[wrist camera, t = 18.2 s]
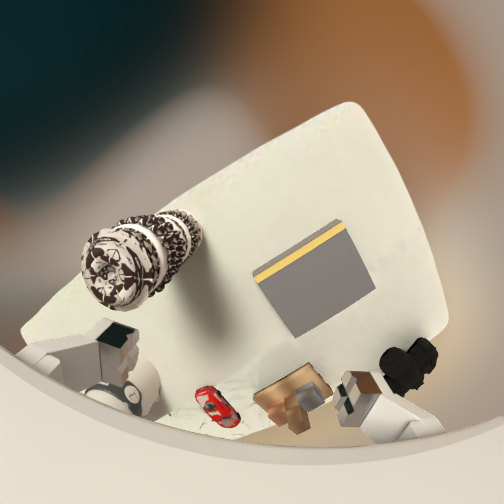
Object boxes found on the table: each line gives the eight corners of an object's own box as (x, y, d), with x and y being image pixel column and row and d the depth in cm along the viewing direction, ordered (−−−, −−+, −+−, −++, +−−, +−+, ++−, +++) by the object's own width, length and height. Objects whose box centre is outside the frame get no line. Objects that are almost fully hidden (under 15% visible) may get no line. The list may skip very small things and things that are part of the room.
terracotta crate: (278, 414, 52) (279, 426, 48) (267, 404, 51) (268, 417, 47) (293, 406, 51) (295, 418, 47) (283, 396, 51) (284, 409, 47)
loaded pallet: (279, 415, 55) (283, 452, 44) (253, 392, 53) (253, 430, 42) (331, 387, 53) (343, 422, 42) (308, 361, 51) (319, 397, 40)
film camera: (408, 322, 50) (428, 341, 41) (428, 340, 51) (448, 359, 42) (361, 373, 52) (375, 398, 43) (385, 387, 53) (399, 410, 45)
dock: (293, 330, 50) (295, 338, 47) (252, 271, 47) (252, 276, 44) (369, 283, 48) (376, 288, 44) (336, 218, 45) (341, 220, 42)
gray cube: (305, 399, 51) (308, 412, 47) (295, 390, 50) (297, 402, 46) (321, 390, 50) (324, 402, 46) (311, 380, 50) (315, 392, 46)
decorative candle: (215, 242, 46) (174, 295, 22) (172, 269, 47) (105, 336, 23) (187, 196, 45) (116, 202, 20) (145, 225, 46) (55, 258, 21)
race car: (244, 418, 54) (244, 430, 50) (224, 425, 55) (223, 436, 51) (213, 381, 52) (211, 392, 48) (193, 388, 53) (189, 399, 49)
